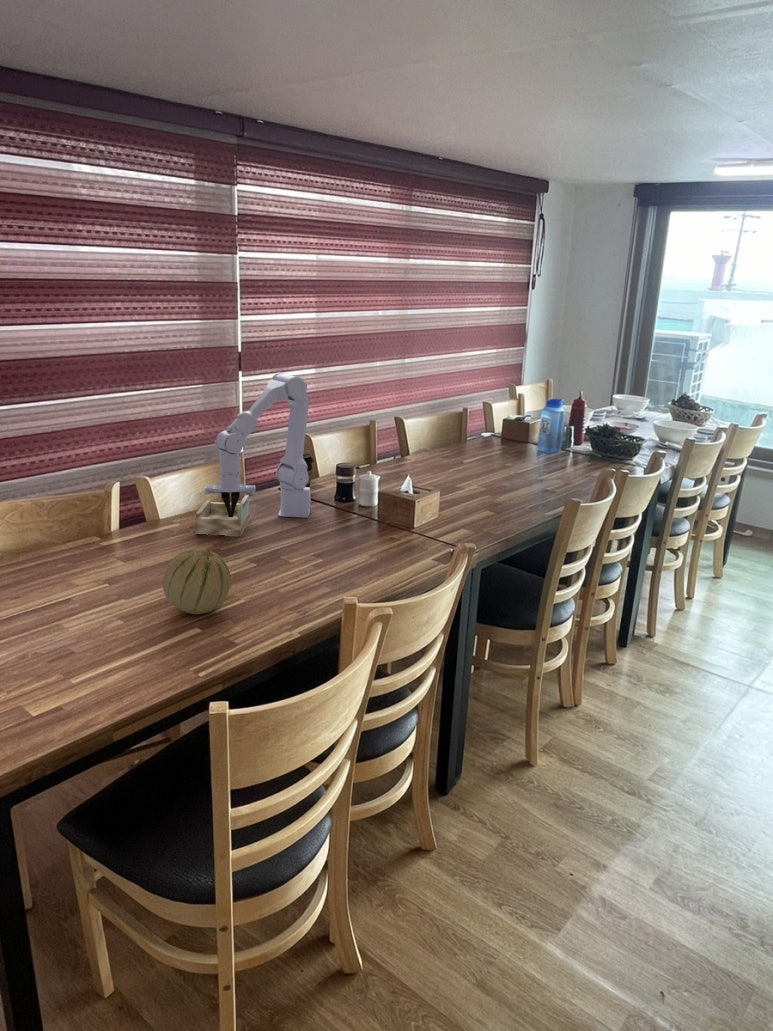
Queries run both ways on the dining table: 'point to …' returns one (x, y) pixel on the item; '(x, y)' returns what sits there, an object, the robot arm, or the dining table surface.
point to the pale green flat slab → (243, 509)
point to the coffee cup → (308, 467)
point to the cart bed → (218, 520)
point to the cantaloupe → (196, 581)
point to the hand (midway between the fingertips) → (230, 516)
